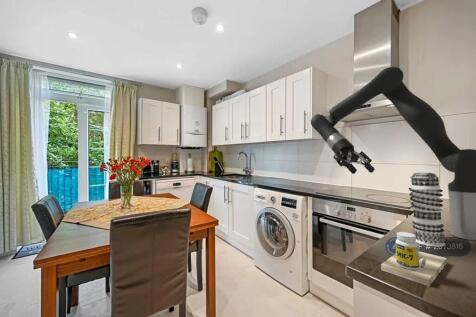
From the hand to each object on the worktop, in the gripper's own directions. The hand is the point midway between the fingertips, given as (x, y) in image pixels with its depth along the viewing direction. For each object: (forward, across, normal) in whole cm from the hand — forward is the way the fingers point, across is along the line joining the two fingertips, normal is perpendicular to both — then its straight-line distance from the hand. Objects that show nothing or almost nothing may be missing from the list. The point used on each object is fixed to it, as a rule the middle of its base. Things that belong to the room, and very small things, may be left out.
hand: (364, 171), depth 80 cm
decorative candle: (+25, +18, +13) cm, 33 cm away
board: (+32, -5, +5) cm, 33 cm away
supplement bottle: (+32, -10, +3) cm, 34 cm away
